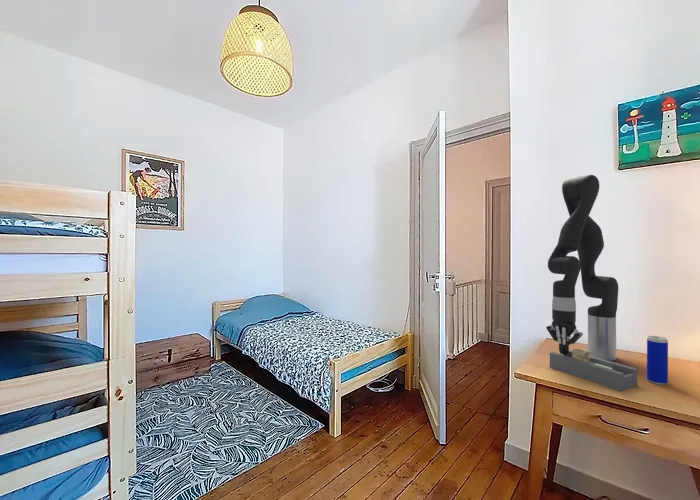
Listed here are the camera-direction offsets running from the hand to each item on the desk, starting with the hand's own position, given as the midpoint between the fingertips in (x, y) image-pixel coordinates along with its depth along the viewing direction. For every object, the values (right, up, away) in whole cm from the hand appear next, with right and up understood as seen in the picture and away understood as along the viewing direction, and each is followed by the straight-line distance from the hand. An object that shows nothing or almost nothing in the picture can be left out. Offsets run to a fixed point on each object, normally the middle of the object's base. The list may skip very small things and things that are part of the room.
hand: (563, 353), depth 125 cm
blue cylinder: (+22, -5, -14) cm, 27 cm away
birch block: (+3, -1, -6) cm, 6 cm away
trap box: (+4, -5, -8) cm, 11 cm away
